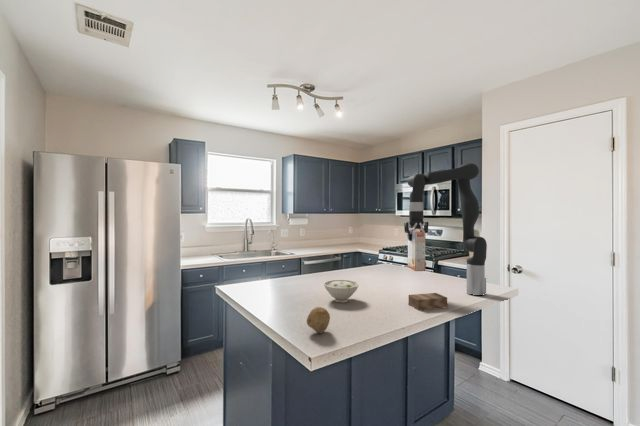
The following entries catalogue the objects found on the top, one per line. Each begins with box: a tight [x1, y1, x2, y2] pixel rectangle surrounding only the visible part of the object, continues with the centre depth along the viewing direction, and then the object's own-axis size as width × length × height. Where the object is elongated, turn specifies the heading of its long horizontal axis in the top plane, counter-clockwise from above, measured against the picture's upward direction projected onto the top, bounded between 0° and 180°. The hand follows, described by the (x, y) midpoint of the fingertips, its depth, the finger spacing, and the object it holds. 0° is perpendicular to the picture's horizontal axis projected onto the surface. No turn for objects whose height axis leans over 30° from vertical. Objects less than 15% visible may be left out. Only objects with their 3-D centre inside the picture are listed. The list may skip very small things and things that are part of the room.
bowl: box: [322, 279, 360, 303], centre depth 159 cm, size 19×19×10 cm
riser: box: [408, 292, 448, 311], centre depth 149 cm, size 16×9×5 cm, turn 104°
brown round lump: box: [306, 306, 331, 334], centre depth 116 cm, size 9×9×10 cm
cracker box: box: [407, 230, 426, 272], centre depth 165 cm, size 14×6×21 cm, turn 179°
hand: (416, 240), depth 164 cm, fingers closed on cracker box, 6 cm apart
